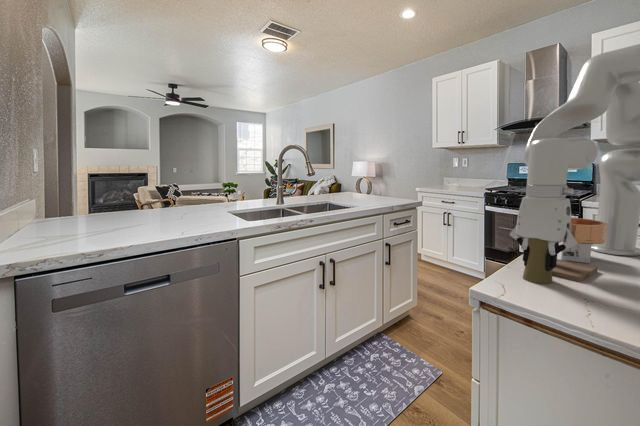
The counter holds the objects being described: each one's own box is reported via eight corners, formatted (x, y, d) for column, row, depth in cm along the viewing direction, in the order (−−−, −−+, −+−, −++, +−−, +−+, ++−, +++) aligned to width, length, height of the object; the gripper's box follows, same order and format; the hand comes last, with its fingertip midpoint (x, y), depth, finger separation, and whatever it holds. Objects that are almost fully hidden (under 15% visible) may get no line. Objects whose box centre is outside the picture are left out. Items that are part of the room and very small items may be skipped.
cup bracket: (547, 261, 90) (552, 215, 87) (607, 273, 79) (613, 221, 77) (528, 269, 83) (532, 220, 81) (590, 284, 72) (597, 227, 70)
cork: (557, 284, 73) (562, 238, 71) (529, 283, 74) (532, 238, 72) (544, 275, 78) (548, 233, 77) (518, 274, 80) (521, 232, 78)
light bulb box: (590, 264, 87) (594, 226, 85) (560, 260, 90) (563, 224, 89) (583, 254, 96) (587, 220, 94) (556, 251, 99) (559, 218, 98)
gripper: (596, 193, 68) (587, 273, 71) (514, 189, 82) (510, 256, 84) (583, 195, 64) (574, 280, 67) (500, 191, 78) (495, 261, 80)
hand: (538, 266), depth 75 cm, fingers open, 3 cm apart
